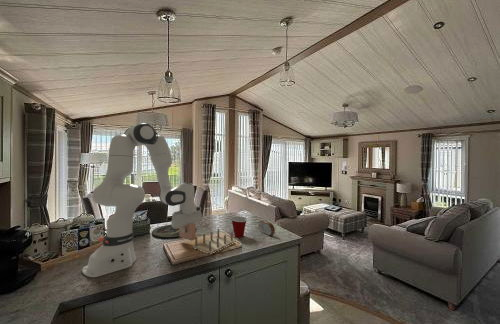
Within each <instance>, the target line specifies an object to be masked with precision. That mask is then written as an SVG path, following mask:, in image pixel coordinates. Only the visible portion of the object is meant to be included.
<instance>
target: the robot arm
mask: <svg viewBox="0 0 500 324" xmlns="http://www.w3.org/2000/svg"><path fill="white" fill-rule="evenodd" d="M139 146H145V148H146V149H147V151H148V155H149V157H150V162H151V164H152V166H153V168H154V171H155V173H156V177H157V181H158V185H159V194H158V198H159V201H160V202H161V203H162V204H164V205H167V206H171V207H176V206H179V210H178V211H174V212H173V213H172V215H171V222H170V223H171V224H170V225H171V226H172V227H173V228H179V227H181V228H182V230H183V233H186V231H187V230H185V226H186V225H187V224H190V223H192V224H196V223H199V222H200V223H201V222H202V220H203V218H202V217H203V215H202V211H201V210H202V207H201V206H197V205H195V187H194V186H195V185H194V184H192V183H190V182H180V183H179V184H178V185H176V186H175V187H172V185H171V181H170V177H169V169H170V168H171V166H172V164H173V160H172V153H171V150H170V147H169V145H168V141H167V139H166V137H165V136H163V135H162V134H159V133H158V132H157V131H156V129H155V128H154V127H153V126H152V125H151V124H149V123H146V122H143V123H138V124H134V125H132V126H130V127H128V128H127V129H126V130H125V131H124V133H123V134H116V135H114V136H113V137H112V138H111V140H110V144H109V148H108V157H107V158H108V159H107V168H106V169H107V170H106V174H105V175H104V178H103V179H102V182H100V184H99V185H97V187H95V188H94V190H93V192H92V199H93V201H94V203H95V204H97V205H100V206H104V207H115V211H114V214H112V215H111V216H109V217H108V218H107V220H106V236H105V237H103V236H100V237H99V238H98V242H100V243H102V245H101V246H99V248H97V249H96V250H95V251H94V252H93V253H92V254H91V255H90V256H89V258H88V264H87V265H85V266H83V267H82V268H81V269H82V274H83V275H84V276H86V277H88V278H98V277H101V276H104V275H108V274H111V273H114V272H117V271H121V270H123V269H128V268H131V267H132V266H133V263H135V262H136V261H137V256H136V253H135V249H134V231H133V218H134V214H135V211H136V210H137V208H138V207H139V206H140V205H141V204H142V203H143V202H144V201H145V197H146V193H145V190H144V188H143V187H142V186H139V185H137V184H131V183H130V184H129V183H125V184H124V181H125V180H126V178H127V177H128V176H130V175H131V174H132V173H133V171H134V151H135V148H136V147H139Z"/></svg>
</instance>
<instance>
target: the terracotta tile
mask: <svg viewBox="0 0 500 324" xmlns="http://www.w3.org/2000/svg"><path fill="white" fill-rule="evenodd" d="M195 227H196V223H193V224H192V223H190V224H187V225H186V226H185V230H187V231H186V233H183V230H182V228H181V227H179V236H180V237H182V238H183V239H186V240H188V241H195V237H196V232H195ZM182 238H181V239H182Z"/></svg>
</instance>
